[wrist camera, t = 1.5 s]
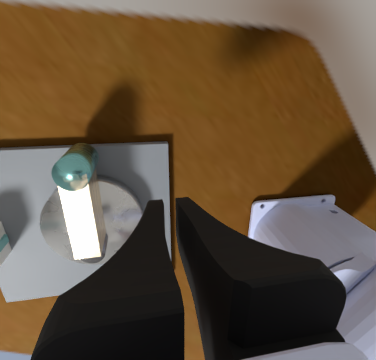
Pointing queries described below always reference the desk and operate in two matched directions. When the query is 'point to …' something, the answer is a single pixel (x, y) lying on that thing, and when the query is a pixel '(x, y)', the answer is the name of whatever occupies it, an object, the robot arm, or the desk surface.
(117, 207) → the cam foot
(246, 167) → the desk surface
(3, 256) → the white rectangular box
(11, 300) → the stand board
